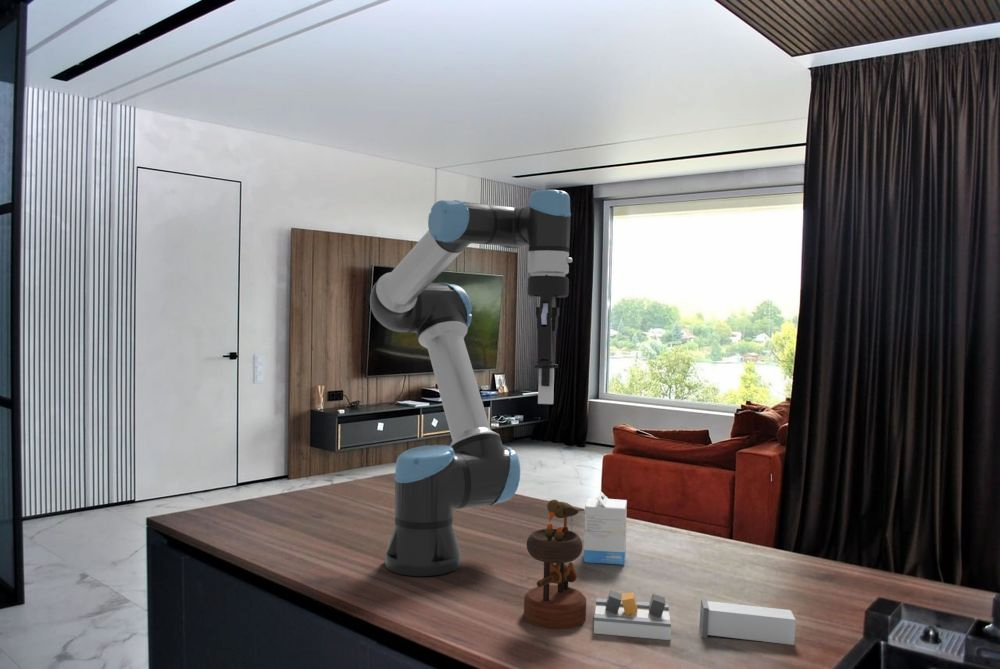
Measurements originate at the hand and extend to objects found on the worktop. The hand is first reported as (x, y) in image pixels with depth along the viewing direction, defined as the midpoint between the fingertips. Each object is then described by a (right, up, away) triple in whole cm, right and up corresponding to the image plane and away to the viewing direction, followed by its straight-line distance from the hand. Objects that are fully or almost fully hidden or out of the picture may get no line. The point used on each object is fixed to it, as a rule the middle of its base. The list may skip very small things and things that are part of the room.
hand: (545, 403), depth 142 cm
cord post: (+24, -33, -18) cm, 45 cm away
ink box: (+14, -35, +20) cm, 42 cm away
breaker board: (+13, -35, -16) cm, 41 cm away
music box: (+1, -35, -13) cm, 37 cm away
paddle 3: (+17, -33, -16) cm, 41 cm away
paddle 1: (+10, -33, -15) cm, 38 cm away
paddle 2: (+13, -33, -16) cm, 39 cm away
